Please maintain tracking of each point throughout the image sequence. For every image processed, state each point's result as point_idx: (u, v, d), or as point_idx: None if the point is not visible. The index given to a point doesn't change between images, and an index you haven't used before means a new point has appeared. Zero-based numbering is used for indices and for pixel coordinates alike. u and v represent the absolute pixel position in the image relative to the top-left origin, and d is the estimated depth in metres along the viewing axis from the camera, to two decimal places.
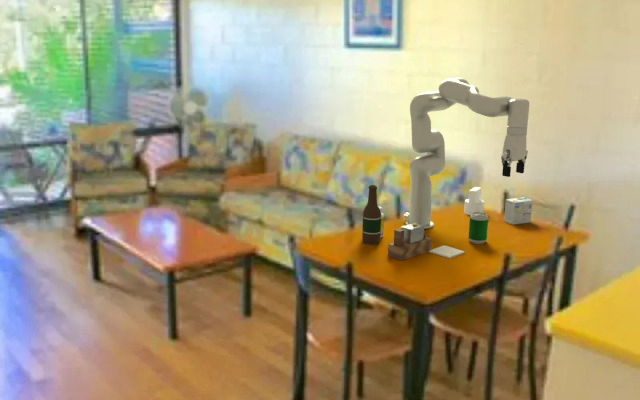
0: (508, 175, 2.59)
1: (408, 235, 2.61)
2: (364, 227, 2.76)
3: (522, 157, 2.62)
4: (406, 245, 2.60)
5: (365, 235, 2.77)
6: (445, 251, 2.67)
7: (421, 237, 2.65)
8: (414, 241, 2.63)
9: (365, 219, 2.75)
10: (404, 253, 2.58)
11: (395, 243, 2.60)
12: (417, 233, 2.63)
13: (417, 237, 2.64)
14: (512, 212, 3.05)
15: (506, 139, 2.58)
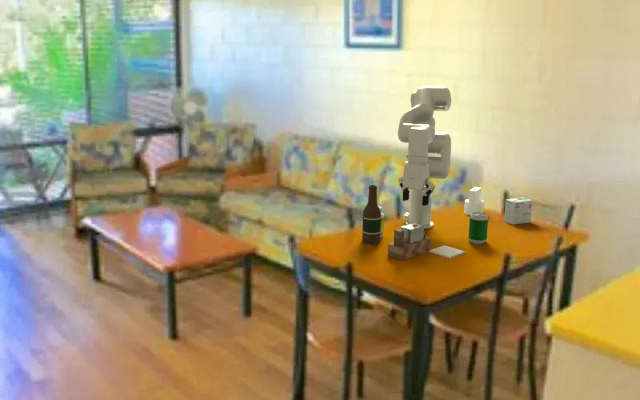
0: None
1: (408, 235, 2.61)
2: (364, 227, 2.76)
3: None
4: (406, 245, 2.60)
5: (365, 235, 2.77)
6: (445, 251, 2.67)
7: (421, 237, 2.65)
8: (414, 241, 2.63)
9: (365, 219, 2.75)
10: (404, 253, 2.58)
11: (395, 243, 2.60)
12: (417, 233, 2.63)
13: (417, 237, 2.64)
14: (512, 212, 3.05)
15: (424, 169, 2.54)
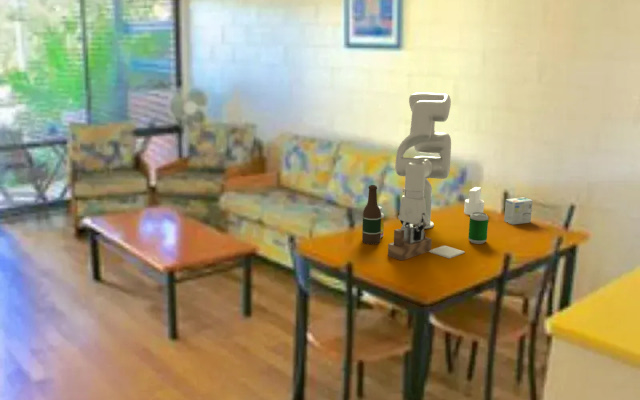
0: None
1: (408, 235, 2.61)
2: (364, 227, 2.76)
3: None
4: (406, 245, 2.60)
5: (365, 235, 2.77)
6: (445, 251, 2.67)
7: (421, 237, 2.65)
8: (414, 241, 2.63)
9: (365, 219, 2.75)
10: (404, 253, 2.58)
11: (395, 243, 2.60)
12: None
13: None
14: (512, 212, 3.05)
15: (421, 204, 2.57)
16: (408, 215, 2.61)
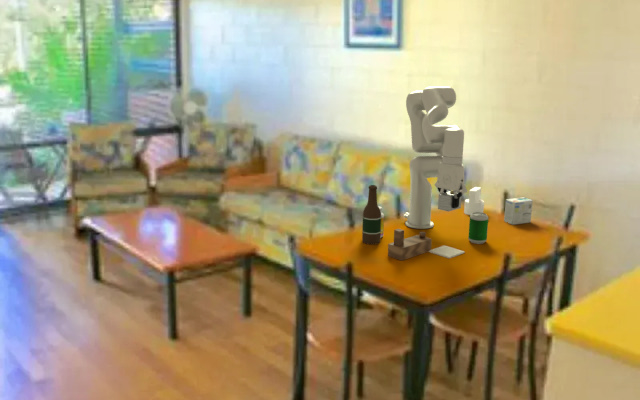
0: (457, 205, 2.61)
1: (446, 203, 2.59)
2: (364, 227, 2.76)
3: None
4: (406, 245, 2.60)
5: (365, 235, 2.77)
6: (445, 251, 2.67)
7: None
8: (452, 208, 2.60)
9: (365, 219, 2.75)
10: (404, 253, 2.58)
11: (395, 243, 2.60)
12: None
13: None
14: (512, 212, 3.05)
15: (459, 170, 2.55)
16: (446, 182, 2.59)
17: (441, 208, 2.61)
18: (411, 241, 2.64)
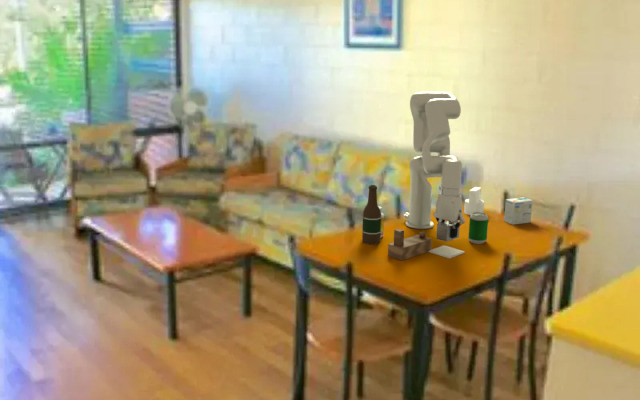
0: (456, 235, 2.64)
1: (444, 233, 2.62)
2: (364, 227, 2.76)
3: None
4: (406, 245, 2.60)
5: (365, 235, 2.77)
6: (445, 251, 2.67)
7: (457, 235, 2.66)
8: (450, 238, 2.63)
9: (365, 219, 2.75)
10: (404, 253, 2.58)
11: (395, 243, 2.60)
12: None
13: None
14: (512, 212, 3.05)
15: (457, 201, 2.58)
16: (444, 212, 2.62)
17: (439, 238, 2.64)
18: (411, 241, 2.64)
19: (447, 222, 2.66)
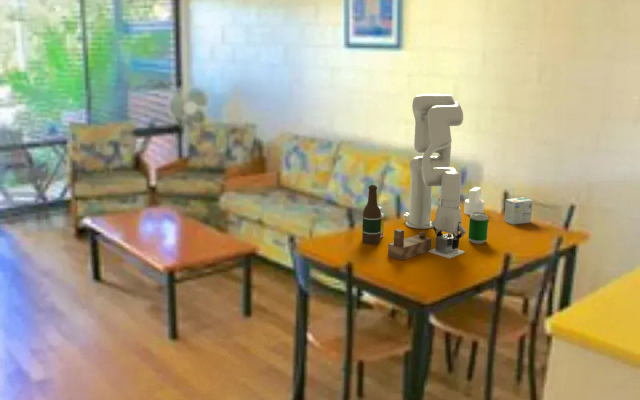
0: (457, 246, 2.65)
1: (443, 246, 2.63)
2: (364, 227, 2.76)
3: None
4: (406, 245, 2.60)
5: (365, 235, 2.77)
6: None
7: None
8: (449, 251, 2.65)
9: (365, 219, 2.75)
10: (404, 253, 2.58)
11: (395, 243, 2.60)
12: None
13: None
14: (512, 212, 3.05)
15: (457, 213, 2.59)
16: (444, 224, 2.63)
17: (438, 251, 2.65)
18: (411, 241, 2.64)
19: (446, 235, 2.68)
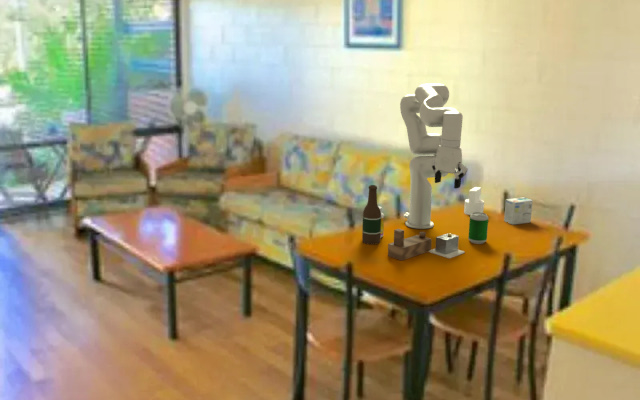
0: (459, 186, 2.66)
1: (443, 246, 2.63)
2: (364, 227, 2.76)
3: None
4: (406, 245, 2.60)
5: (365, 235, 2.77)
6: None
7: (456, 248, 2.67)
8: (449, 251, 2.65)
9: (365, 219, 2.75)
10: (404, 253, 2.58)
11: (395, 243, 2.60)
12: (452, 244, 2.65)
13: (452, 247, 2.66)
14: (512, 212, 3.05)
15: (457, 153, 2.60)
16: (444, 164, 2.64)
17: (438, 251, 2.65)
18: (411, 241, 2.64)
19: (446, 235, 2.68)
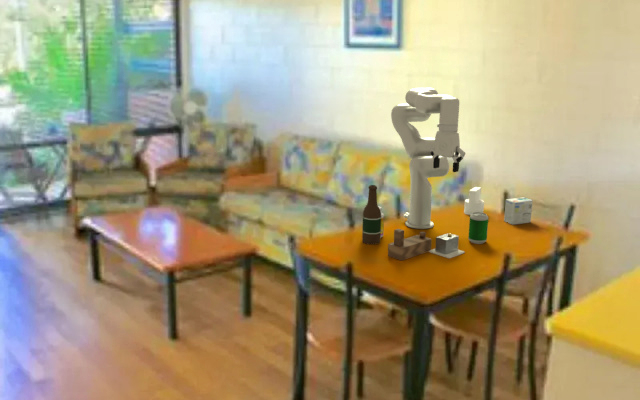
0: (457, 170, 2.72)
1: (443, 246, 2.63)
2: (364, 227, 2.76)
3: None
4: (406, 245, 2.60)
5: (365, 235, 2.77)
6: None
7: (456, 248, 2.67)
8: (449, 251, 2.65)
9: (365, 219, 2.75)
10: (404, 253, 2.58)
11: (395, 243, 2.60)
12: (452, 244, 2.65)
13: (452, 247, 2.66)
14: (512, 212, 3.05)
15: (455, 137, 2.67)
16: (442, 149, 2.71)
17: (438, 251, 2.65)
18: (411, 241, 2.64)
19: (446, 235, 2.68)
